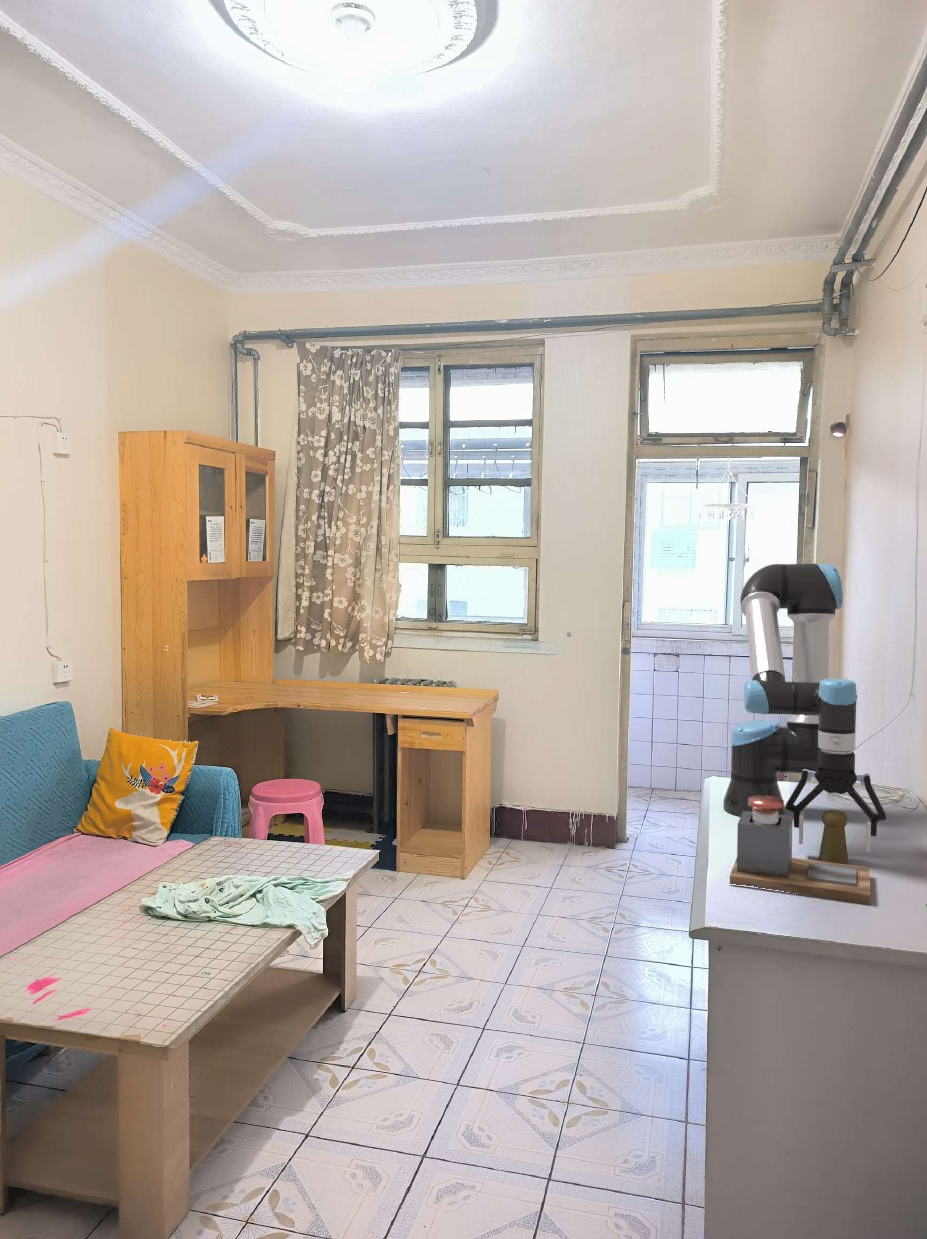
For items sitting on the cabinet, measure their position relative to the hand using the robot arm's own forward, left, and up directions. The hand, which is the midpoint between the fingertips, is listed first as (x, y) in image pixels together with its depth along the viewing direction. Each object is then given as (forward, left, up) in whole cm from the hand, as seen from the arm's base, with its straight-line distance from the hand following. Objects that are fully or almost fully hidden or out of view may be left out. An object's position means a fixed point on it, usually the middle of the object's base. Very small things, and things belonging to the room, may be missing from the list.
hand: (834, 846), depth 193 cm
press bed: (+16, -6, -3) cm, 17 cm away
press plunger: (+16, -13, +4) cm, 21 cm away
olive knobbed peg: (0, 0, -3) cm, 3 cm away
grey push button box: (+16, -13, -1) cm, 21 cm away
